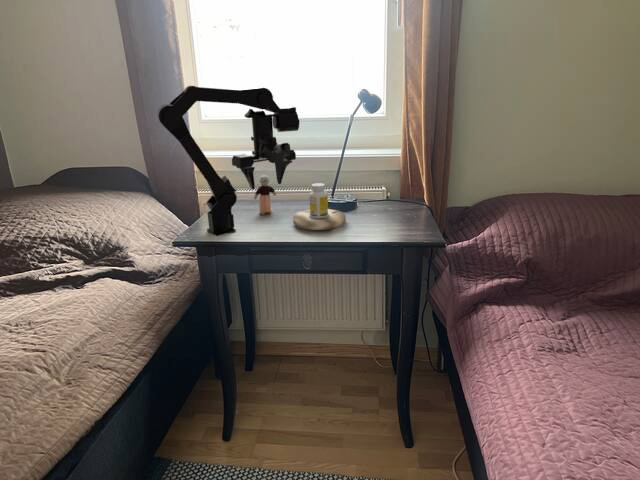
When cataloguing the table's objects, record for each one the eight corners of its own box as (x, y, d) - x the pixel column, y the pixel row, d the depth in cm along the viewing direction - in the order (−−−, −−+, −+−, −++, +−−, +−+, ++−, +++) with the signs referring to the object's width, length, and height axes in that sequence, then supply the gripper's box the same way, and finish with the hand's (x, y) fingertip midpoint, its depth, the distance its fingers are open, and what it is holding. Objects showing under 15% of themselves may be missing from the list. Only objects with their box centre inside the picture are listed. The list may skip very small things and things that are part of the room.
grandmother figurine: (260, 216, 149) (257, 178, 145) (253, 213, 152) (250, 176, 148) (279, 211, 154) (277, 174, 149) (273, 209, 157) (270, 172, 152)
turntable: (314, 236, 130) (314, 228, 129) (283, 223, 142) (282, 215, 141) (356, 224, 139) (356, 216, 138) (323, 212, 151) (323, 205, 150)
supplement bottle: (328, 213, 142) (328, 182, 139) (327, 218, 137) (326, 186, 134) (311, 213, 143) (310, 182, 139) (309, 218, 138) (308, 186, 134)
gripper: (248, 139, 120) (252, 197, 126) (305, 132, 131) (307, 186, 136) (228, 135, 129) (233, 189, 134) (284, 129, 139) (286, 179, 145)
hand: (266, 186), depth 137 cm, fingers open, 9 cm apart
